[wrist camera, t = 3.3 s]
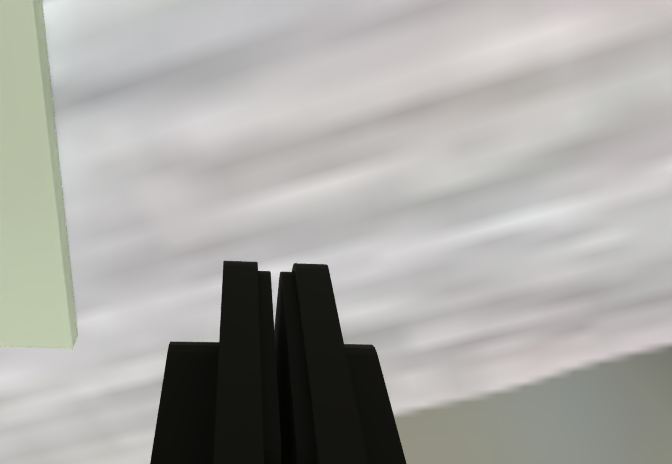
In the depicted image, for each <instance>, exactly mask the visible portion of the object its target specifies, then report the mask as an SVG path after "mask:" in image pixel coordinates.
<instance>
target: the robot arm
mask: <svg viewBox="0 0 672 464" xmlns="http://www.w3.org/2000/svg"><path fill="white" fill-rule="evenodd" d="M150 464H406V461H405V457H404V453H403V449H402V445H401V442H400V438H399V434H398V431H397V427H396V423H395V419H394V415H393V412H392V408H391V404H390V400H389V396H388V393H387V389H386V385H385V381H384V378H383V374H382V370H381V366H380V363H379V359H378V355H377V352H376V350H375V347H374V346H373V345H357V344H344V342H343V337H342V332H341V328H340V323H339V318H338V313H337V308H336V303H335V298H334V293H333V288H332V283H331V278H330V273H329V269H328V265H324V264H297V263H294V265H293V268H292V272H280V277H279V287H278V298H277V308H276V318H275V329H274V320H273V304H272V288H271V273H270V271H258V263H257V262H242V261H224V264H223V283H222V302H221V321H220V341H219V342H170V344H169V348H168V353H167V360H166V366H165V372H164V379H163V385H162V392H161V398H160V405H159V411H158V417H157V424H156V430H155V437H154V443H153V450H152V456H151V463H150Z"/></svg>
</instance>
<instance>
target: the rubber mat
mask: <svg viewBox="0 0 672 464" xmlns="http://www.w3.org/2000/svg"><path fill="white" fill-rule="evenodd" d="M77 336H78V333H77V324H76V314H75V305H74V296H73V286H72V277H71V268H70V258H69V249H68V240H67V230H66V221H65V212H64V202H63V193H62V184H61V175H60V165H59V156H58V147H57V137H56V128H55V119H54V109H53V100H52V91H51V81H50V72H49V63H48V54H47V44H46V35H45V26H44V16H43V7H42V0H0V347H27V348H60V349H73V347H74V344H75V342H76V339H77Z"/></svg>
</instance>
